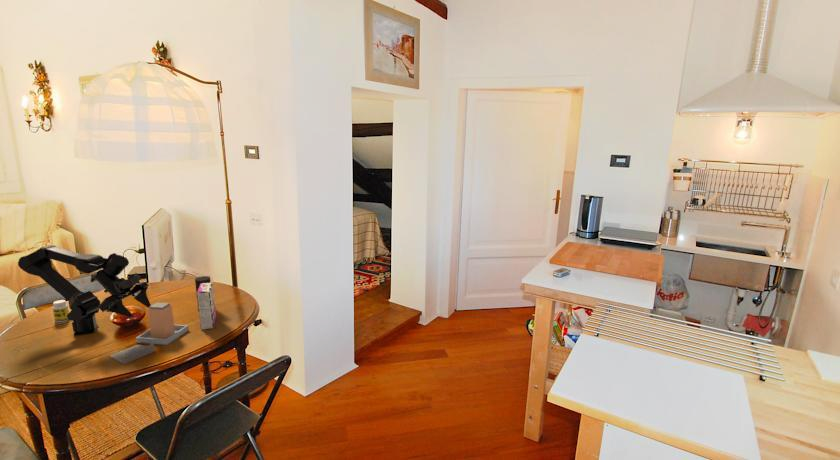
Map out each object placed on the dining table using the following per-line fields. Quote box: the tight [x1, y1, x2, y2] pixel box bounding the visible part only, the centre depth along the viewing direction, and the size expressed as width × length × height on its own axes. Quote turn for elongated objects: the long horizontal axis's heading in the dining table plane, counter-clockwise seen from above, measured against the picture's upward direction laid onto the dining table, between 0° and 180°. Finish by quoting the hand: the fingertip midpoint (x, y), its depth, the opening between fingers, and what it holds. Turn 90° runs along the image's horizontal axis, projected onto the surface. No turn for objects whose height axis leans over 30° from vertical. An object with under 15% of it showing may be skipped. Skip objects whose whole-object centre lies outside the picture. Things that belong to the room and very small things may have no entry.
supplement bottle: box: [52, 299, 70, 323], centre depth 171 cm, size 5×5×8 cm
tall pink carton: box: [147, 302, 175, 339], centre depth 159 cm, size 6×5×13 cm
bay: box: [109, 343, 155, 365], centre depth 147 cm, size 10×10×3 cm
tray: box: [135, 323, 190, 346], centre depth 160 cm, size 12×12×2 cm
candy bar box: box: [196, 281, 217, 331], centre depth 170 cm, size 11×5×16 cm, turn 21°
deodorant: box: [194, 275, 211, 312], centre depth 184 cm, size 6×6×15 cm
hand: (141, 311), depth 159 cm, fingers open, 9 cm apart
